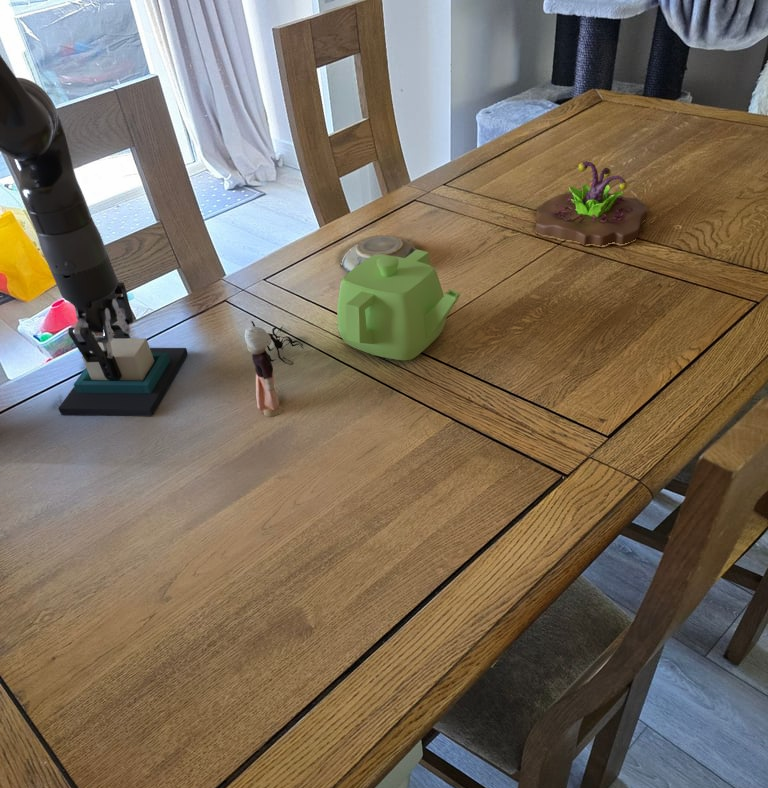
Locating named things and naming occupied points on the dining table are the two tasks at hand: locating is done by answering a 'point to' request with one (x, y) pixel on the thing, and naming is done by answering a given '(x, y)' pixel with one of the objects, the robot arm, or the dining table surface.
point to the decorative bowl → (376, 250)
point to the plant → (592, 213)
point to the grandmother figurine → (263, 371)
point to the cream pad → (126, 359)
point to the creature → (279, 343)
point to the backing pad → (125, 389)
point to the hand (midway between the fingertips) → (121, 367)
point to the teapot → (393, 306)
